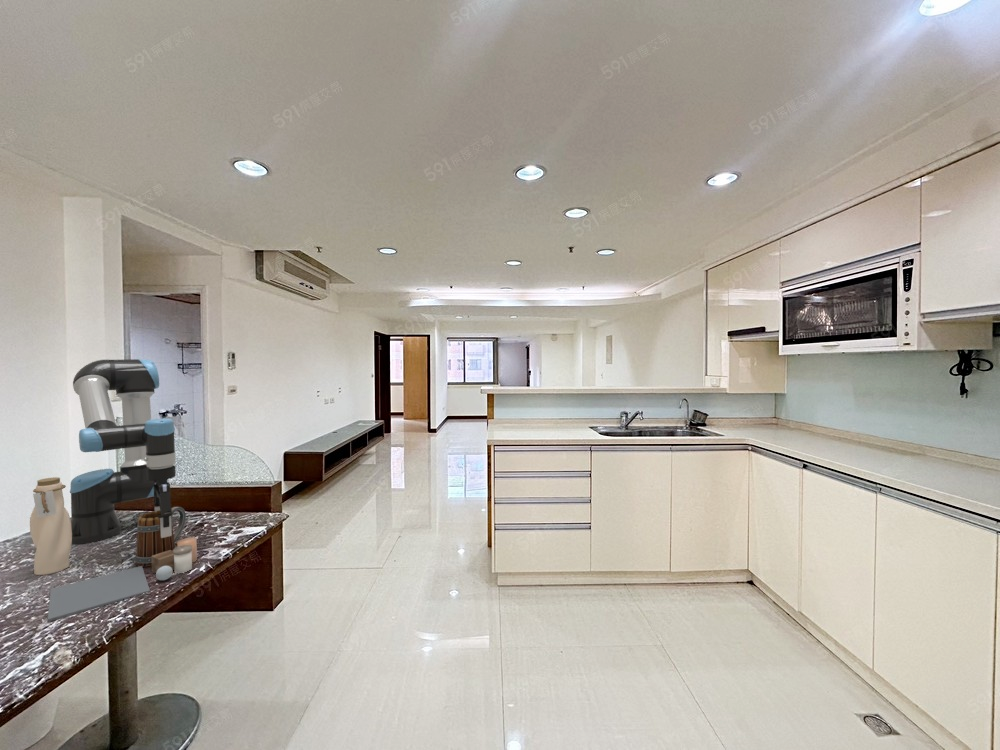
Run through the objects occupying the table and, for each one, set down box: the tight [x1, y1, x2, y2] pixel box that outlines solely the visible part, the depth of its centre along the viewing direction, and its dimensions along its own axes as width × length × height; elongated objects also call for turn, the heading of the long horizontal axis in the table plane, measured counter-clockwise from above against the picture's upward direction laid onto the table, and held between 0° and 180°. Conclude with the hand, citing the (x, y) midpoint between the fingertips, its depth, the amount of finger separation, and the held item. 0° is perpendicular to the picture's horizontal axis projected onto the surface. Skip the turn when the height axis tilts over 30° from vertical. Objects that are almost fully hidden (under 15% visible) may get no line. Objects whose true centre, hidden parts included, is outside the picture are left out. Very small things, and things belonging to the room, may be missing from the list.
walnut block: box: [151, 550, 174, 574], centre depth 137 cm, size 5×5×5 cm
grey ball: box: [155, 566, 174, 582], centre depth 131 cm, size 4×4×4 cm
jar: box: [173, 545, 193, 574], centre depth 137 cm, size 5×5×7 cm
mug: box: [134, 506, 187, 568], centre depth 146 cm, size 16×11×15 cm
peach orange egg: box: [176, 536, 198, 563], centre depth 142 cm, size 5×5×7 cm
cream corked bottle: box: [29, 476, 73, 576], centre depth 136 cm, size 10×9×28 cm
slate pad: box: [47, 566, 151, 623], centre depth 124 cm, size 20×20×1 cm
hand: (163, 531), depth 146 cm, fingers open, 13 cm apart
